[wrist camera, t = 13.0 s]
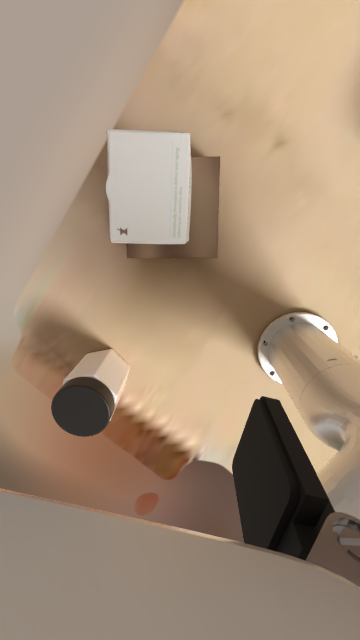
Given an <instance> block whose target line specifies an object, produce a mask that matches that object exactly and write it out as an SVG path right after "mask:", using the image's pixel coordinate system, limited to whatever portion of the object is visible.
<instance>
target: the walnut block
mask: <svg viewBox="0 0 360 640" xmlns="http://www.w3.org/2000/svg"><path fill="white" fill-rule="evenodd" d="M191 166H192V191H191V215H190V233H189V241H188V242H187V243H185V244H136V243H127V258H217V243H218V209H219V174H220V157H191Z"/></svg>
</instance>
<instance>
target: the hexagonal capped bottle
mask: <svg viewBox="0 0 360 640" xmlns="http://www.w3.org/2000/svg"><path fill="white" fill-rule="evenodd" d="M129 371H130V366H129V365H128V364H127V363H126V362H125V361H124V360H123V359H122V358H121V357H120V356H119V355H118V354H117V353H116V352H115V351H114V350H113V349H108V350H103V351H97V352H92V353H87V354H86V355H85V356H84V357H83V359H82V360H81V361H80V362H79V363H78V364H77V365H76V367H75V368H74V369H73V370H72V371H71V372H70V374H69V375H68V376H67V377H66V378H65V379H64V382H63V386H62V387H61V389H60V390H59V391H58V392H57V393H56V395H55V396H54V398H53V401H52V405H51V410H52V415H53V417H54V419H55V421H56V422H57V424H58V425H59V426H60V427H61V428H62V429H63V430H65V431H67V432H68V433H70V434H73V435H76V436H82V437H87V436H93V435H96V434H98V433H100V432H101V431H103V430H104V429H105V428H106V426H107V425H108V423H109V421H110V420H111V418H112V415H113V413H114V411H115V408H116V406H117V404H118V402H119V399H120V397H121V395H122V392H123V390H124V388H125V384H126V381H127V378H128V374H129Z"/></svg>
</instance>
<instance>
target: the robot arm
mask: <svg viewBox="0 0 360 640" xmlns="http://www.w3.org/2000/svg"><path fill="white" fill-rule="evenodd" d="M290 317H292V318H291V319H289V318H290ZM323 326H324V327H323ZM263 341H265V342H264V343H263ZM257 353H258V359H259V362H260V365H261V367H262V368H263V370H264V372H265V373H266V374H267V375H268V376H269V377H270V378H272V379H273V380H275V381H276V382H279V383H281V384H283V385H284V387H285V389H286V390H287V392H288V394H289V396H290V397H291V399H292V401H293V402H294V404H295V406H296V408H297V409H298V411H299V413H300V414H301V416H302V418H303V420H304V422H305V423H306V425H307V427H308V428H309V429H310V431H311V432H312V433H313V434H314V436H315V437H317V438H318V439H319V440H320V441H321V442H323V443H324V444H326V445H327V446H329V447H331V448H333V449H335V450H338V452H337V453H336V454H335V455H334V456H333V457H332V458H331V459H330V460H329V463H328V464H327V465H326V466H324V467H323V468H322V469H321V470H320V471H319V472H318V473H317V474H316V472H315V470H314V468H313V466H312V464H311V462H310V460H309V458H308V456H307V454H306V452H305V450H304V448H303V446H302V444H301V442H300V440H299V438H298V436H297V434H296V432H295V431H294V429H293V427H292V425H291V423H290V421H289V419H288V417H287V415H286V413H285V411H284V409H283V407H282V405H281V403H280V401H279V400H277V399H272V398H268V397H264V396H262V397H261V398H260V400H258V399H256V400H255V401H254V403H253V406H252V408H251V411H250V414H249V417H248V420H247V422H246V425H245V428H244V431H243V434H242V436H241V439H240V442H239V445H238V447H237V450H236V453H235V456H234V459H233V464H232V470H233V477H234V482H235V489H236V495H237V501H238V506H239V513H240V519H241V525H242V531H243V538H244V543H242V542H238V541H234V540H229V539H225V538H220V537H216V536H212V535H207V534H203V533H199V532H195V531H191V530H186V529H182V528H177V527H172V526H168V525H164V524H159V523H155V522H150V521H146V520H141V519H137V518H132V517H128V516H123V515H119V514H115V513H110V512H106V511H100V510H96V509H92V508H87V507H83V506H78V505H74V504H69V503H64V502H60V501H55V500H50V499H45V498H41V497H37V496H32V495H27V494H23V493H18V492H13V491H8V490H4V489H0V640H360V360H359V359H358V357H357V356H354V355H352V354H351V353H350V352H349V351H347V350H346V349H345V348H343V347H342V346H341V345H340V344H338V338H337V335H336V333H335V331H334V329H333V328H332V326H331V325H330V324H329V323H328V322H327V321H326V320H324V319H323V318H321V317H319V316H317V315H315V314H312V313H308V312H294V313H289V314H286V315H283V316H281V317H279V318H277V319H276V320H274V321H273V322H272V323H270V324H269V325H268V326H267V328H266V329H265V330H264V332H263V333H262V335H261V337H260V340H259V342H258V348H257ZM270 371H272V372H270Z"/></svg>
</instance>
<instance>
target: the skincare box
mask: <svg viewBox="0 0 360 640" xmlns="http://www.w3.org/2000/svg"><path fill="white" fill-rule="evenodd" d="M107 154H108V178H107V181H106V194H107V197H108V200H109V230H110V240H111V242H112V243H136V244H185V243H187V242H188V241H189V233H190V215H191V191H192V166H191V149H190V133H183V132H166V131H144V130H118V129H108V130H107Z"/></svg>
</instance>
